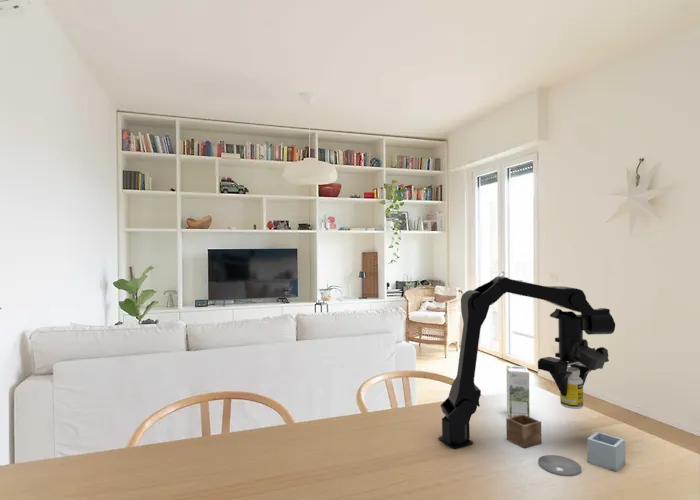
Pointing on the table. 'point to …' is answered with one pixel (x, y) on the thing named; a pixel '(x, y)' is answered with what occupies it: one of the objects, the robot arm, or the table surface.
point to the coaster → (559, 465)
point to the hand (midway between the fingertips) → (571, 394)
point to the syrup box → (517, 391)
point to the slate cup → (606, 451)
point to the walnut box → (523, 430)
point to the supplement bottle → (573, 391)
